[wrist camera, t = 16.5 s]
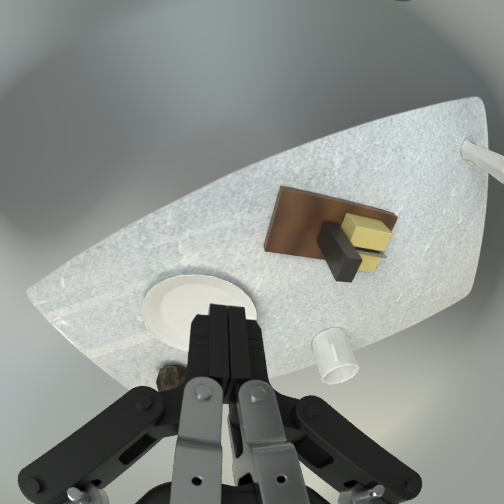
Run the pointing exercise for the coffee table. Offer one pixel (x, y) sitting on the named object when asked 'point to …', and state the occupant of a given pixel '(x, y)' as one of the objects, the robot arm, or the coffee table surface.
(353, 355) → the mug
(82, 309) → the coffee table surface
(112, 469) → the robot arm
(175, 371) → the rock
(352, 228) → the butter
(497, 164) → the white faceted vase
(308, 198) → the slicer board
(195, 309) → the plate
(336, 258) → the knife
